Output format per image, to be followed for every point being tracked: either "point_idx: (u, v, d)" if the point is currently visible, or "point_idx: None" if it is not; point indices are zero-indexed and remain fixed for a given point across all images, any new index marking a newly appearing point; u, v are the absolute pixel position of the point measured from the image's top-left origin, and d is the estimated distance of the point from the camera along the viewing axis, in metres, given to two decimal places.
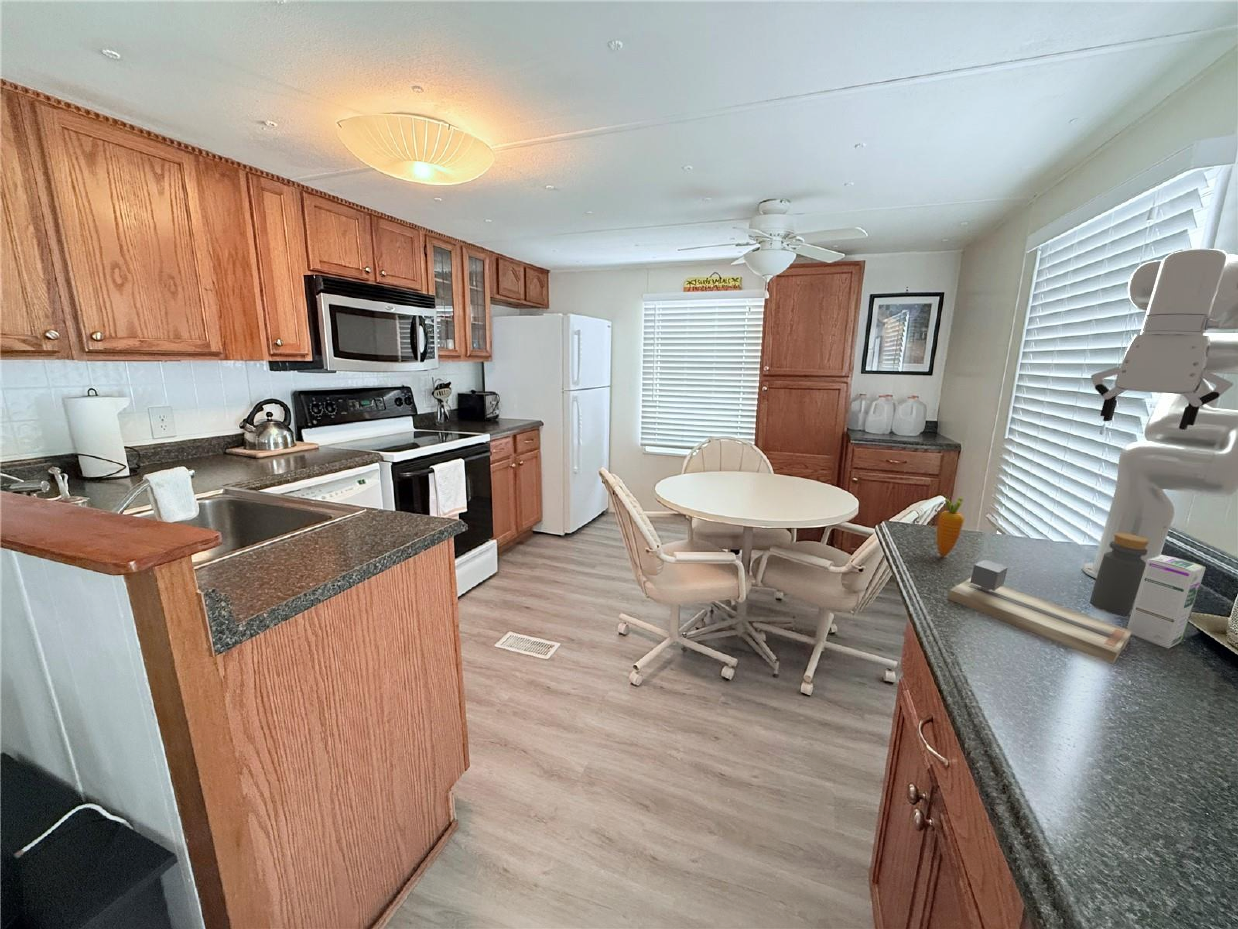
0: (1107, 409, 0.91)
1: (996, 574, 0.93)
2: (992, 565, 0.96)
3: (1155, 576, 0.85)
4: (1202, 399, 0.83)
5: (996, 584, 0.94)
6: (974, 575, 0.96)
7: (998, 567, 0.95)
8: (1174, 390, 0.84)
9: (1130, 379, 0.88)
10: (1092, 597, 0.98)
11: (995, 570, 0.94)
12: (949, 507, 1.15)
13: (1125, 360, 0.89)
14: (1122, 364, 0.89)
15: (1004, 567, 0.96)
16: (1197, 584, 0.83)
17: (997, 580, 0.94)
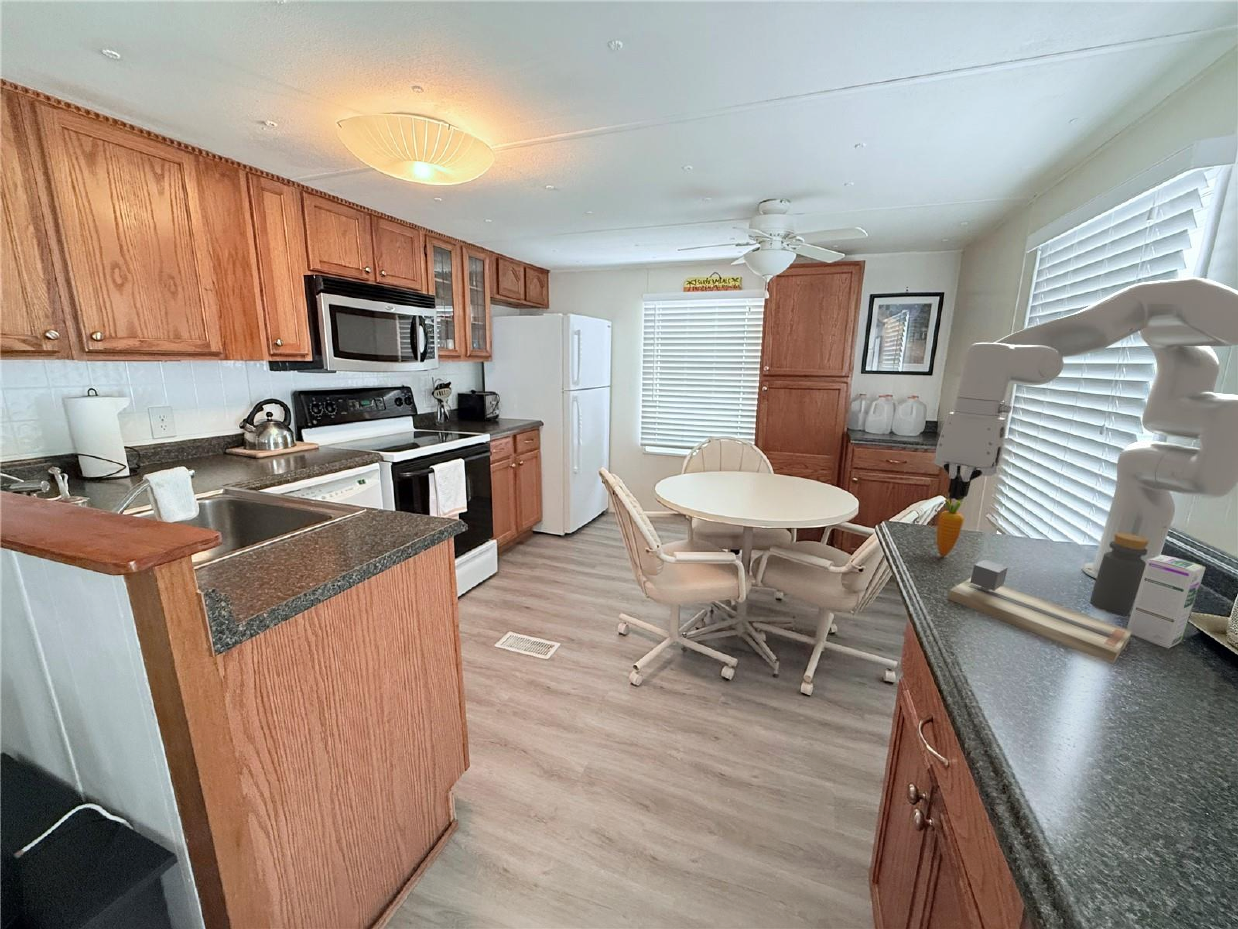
0: (952, 488, 0.99)
1: (996, 574, 0.93)
2: (992, 565, 0.96)
3: (1155, 575, 0.85)
4: (971, 478, 0.97)
5: (996, 584, 0.94)
6: (974, 575, 0.96)
7: (998, 567, 0.95)
8: (976, 465, 0.95)
9: (945, 452, 0.99)
10: (1092, 597, 0.98)
11: (995, 570, 0.94)
12: (949, 507, 1.15)
13: (942, 435, 0.99)
14: (939, 438, 0.99)
15: (1004, 567, 0.96)
16: (1197, 584, 0.83)
17: (997, 580, 0.94)
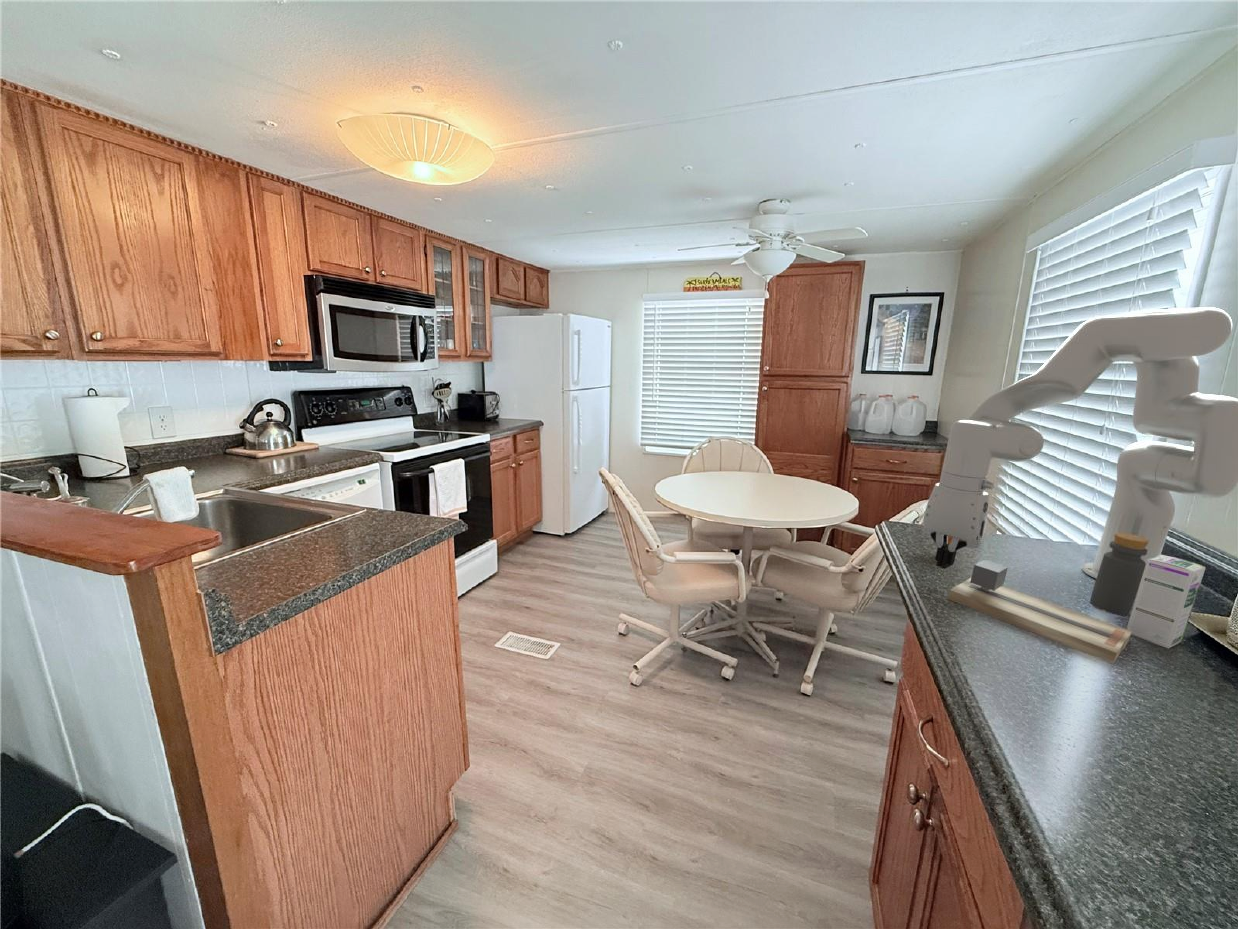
0: (939, 557, 1.02)
1: (996, 574, 0.93)
2: (992, 565, 0.96)
3: (1155, 575, 0.85)
4: (957, 549, 1.00)
5: (996, 584, 0.94)
6: (974, 575, 0.96)
7: (998, 567, 0.95)
8: (961, 538, 0.98)
9: (931, 522, 1.02)
10: (1092, 597, 0.98)
11: (995, 570, 0.94)
12: None
13: (928, 505, 1.02)
14: (926, 508, 1.03)
15: (1004, 567, 0.96)
16: (1197, 584, 0.83)
17: (997, 580, 0.94)
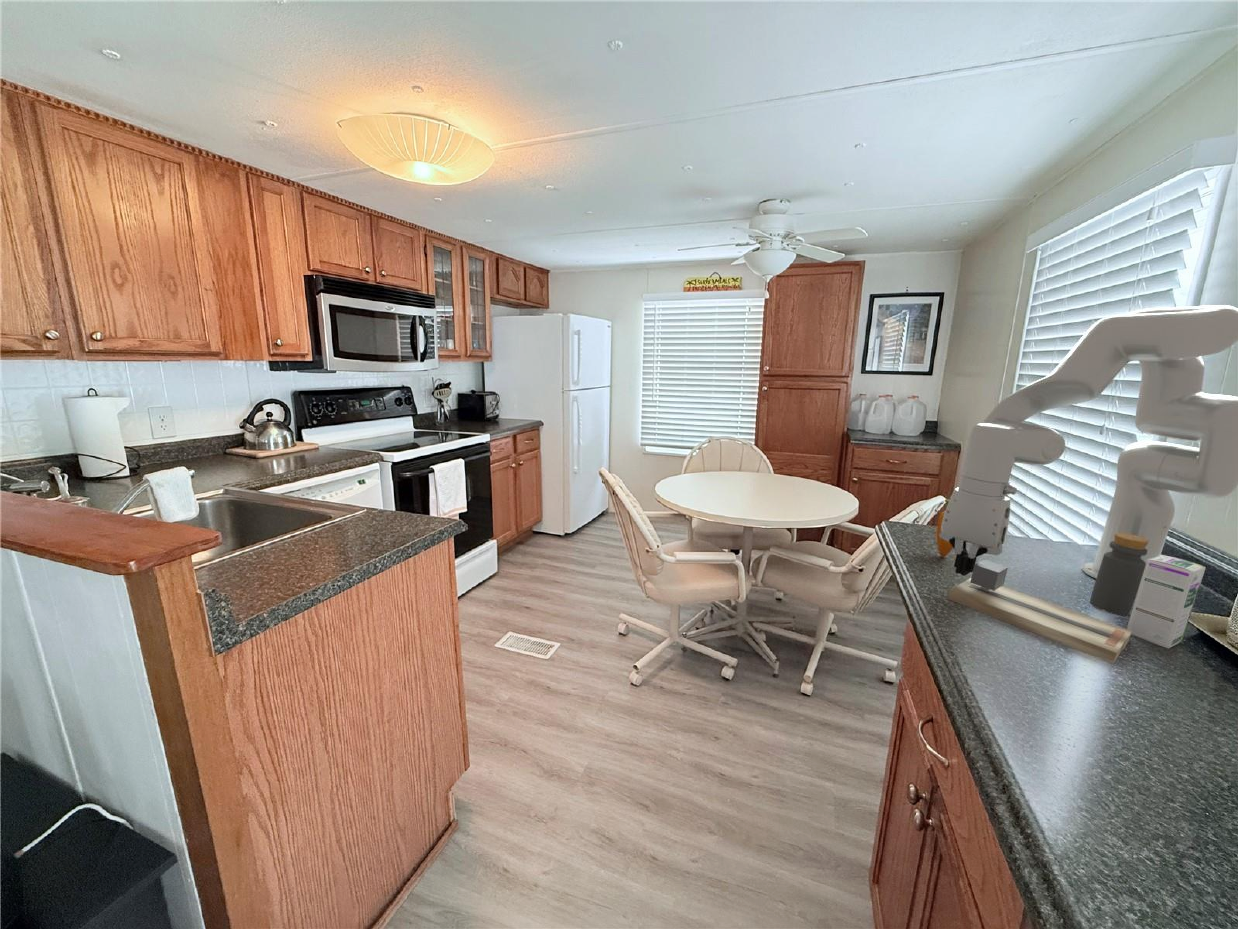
0: (958, 563, 0.99)
1: (996, 574, 0.93)
2: (992, 565, 0.96)
3: (1155, 576, 0.85)
4: (977, 556, 0.97)
5: (996, 584, 0.94)
6: (974, 575, 0.96)
7: (998, 567, 0.95)
8: (982, 544, 0.95)
9: (950, 528, 0.99)
10: (1092, 597, 0.98)
11: (995, 570, 0.94)
12: None
13: (947, 510, 1.00)
14: (945, 513, 1.00)
15: (1004, 567, 0.96)
16: (1197, 584, 0.83)
17: (997, 580, 0.94)
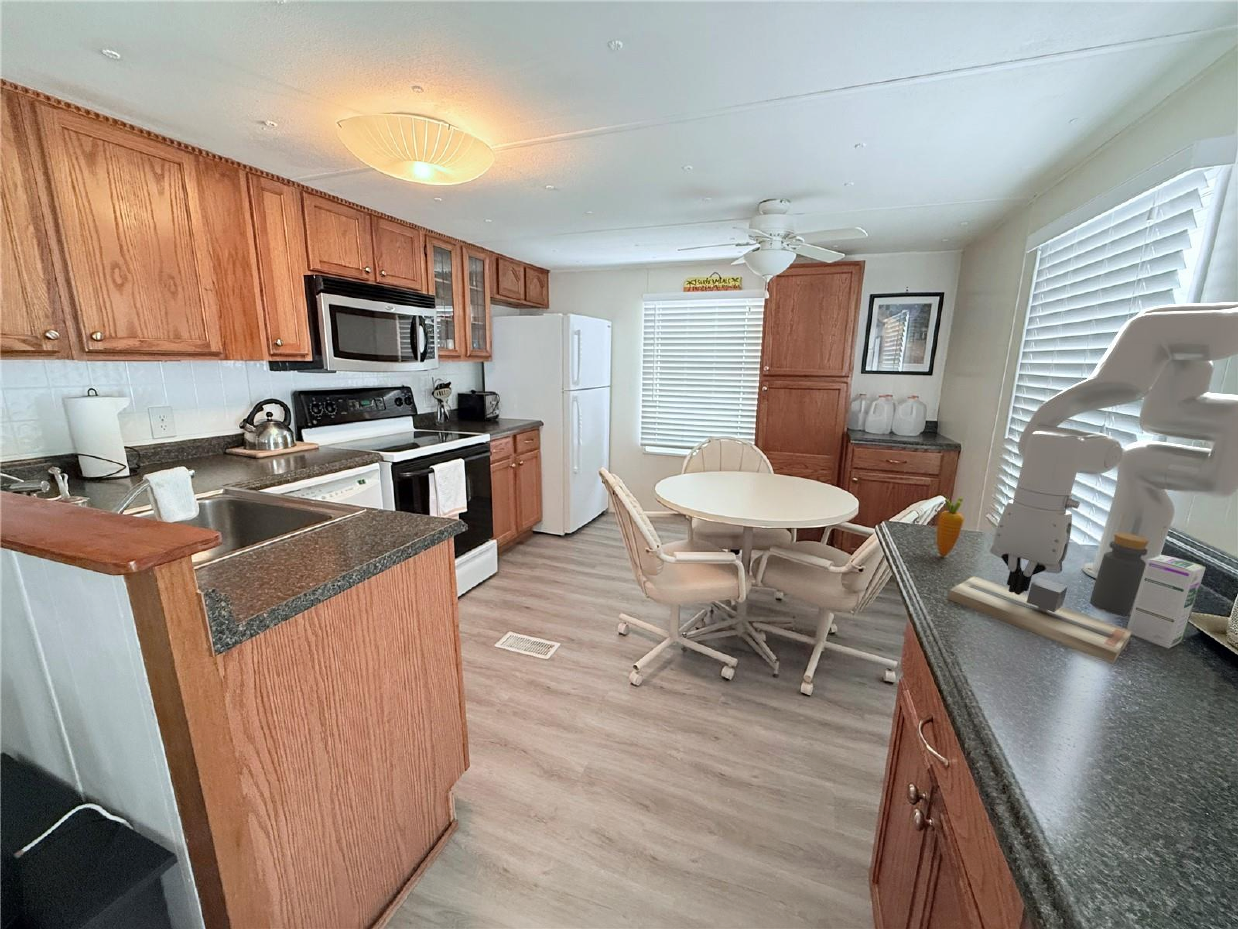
0: (1012, 581, 0.92)
1: (1056, 594, 0.86)
2: (1050, 584, 0.89)
3: (1155, 576, 0.85)
4: (1033, 574, 0.90)
5: (1056, 605, 0.87)
6: (1032, 595, 0.89)
7: (1058, 587, 0.88)
8: (1040, 562, 0.88)
9: (1004, 543, 0.92)
10: (1092, 597, 0.98)
11: (1055, 590, 0.87)
12: (949, 507, 1.15)
13: (1000, 524, 0.93)
14: (997, 527, 0.93)
15: (1064, 586, 0.89)
16: (1197, 584, 0.83)
17: (1058, 601, 0.87)
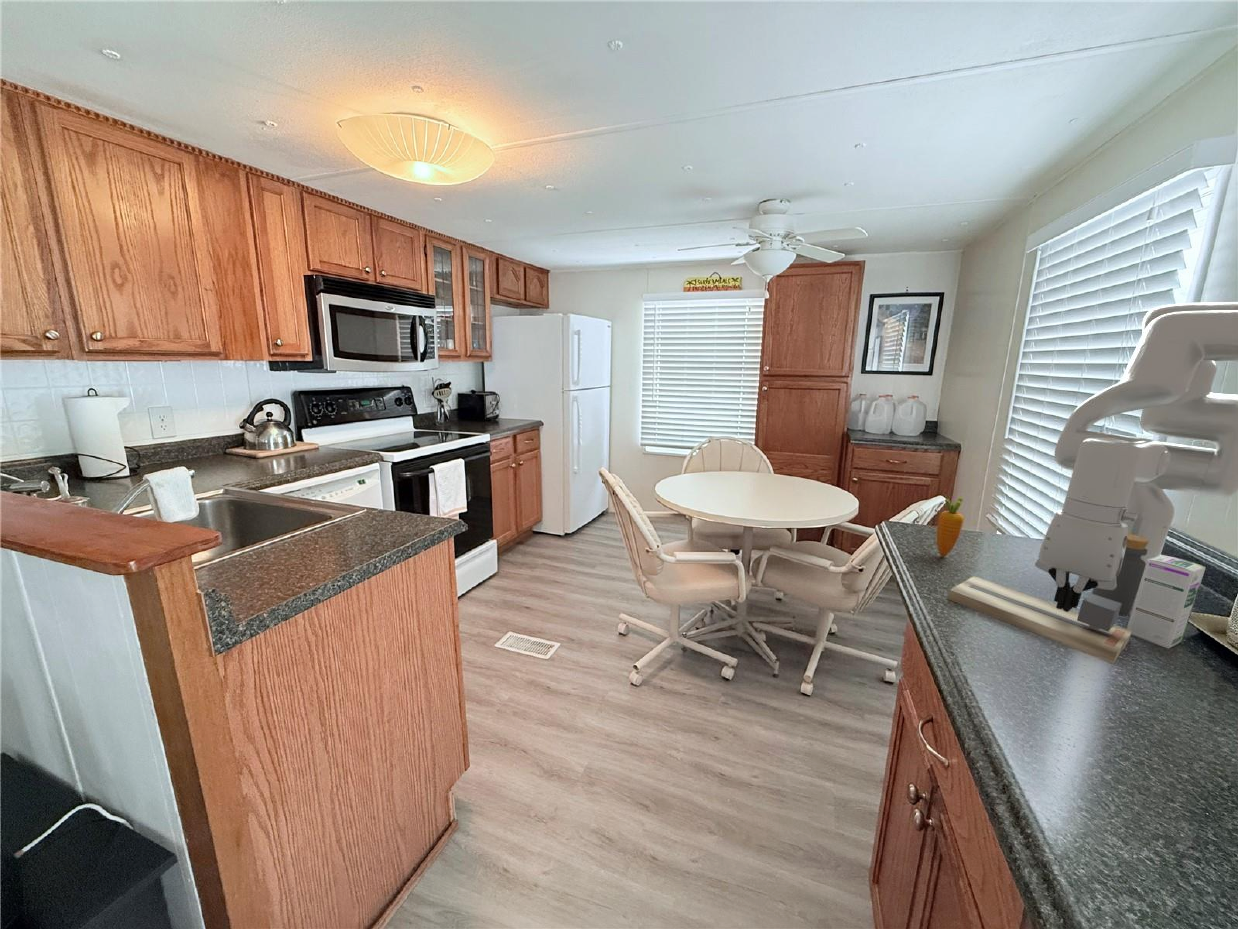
0: (1060, 598, 0.87)
1: (1111, 613, 0.81)
2: (1103, 601, 0.84)
3: (1155, 576, 0.85)
4: (1084, 590, 0.85)
5: (1111, 624, 0.81)
6: (1083, 613, 0.84)
7: (1111, 604, 0.83)
8: (1093, 577, 0.83)
9: (1052, 557, 0.87)
10: None
11: (1110, 608, 0.81)
12: (949, 507, 1.15)
13: (1047, 537, 0.87)
14: (1044, 540, 0.87)
15: (1118, 604, 0.83)
16: (1197, 584, 0.83)
17: (1112, 619, 0.81)
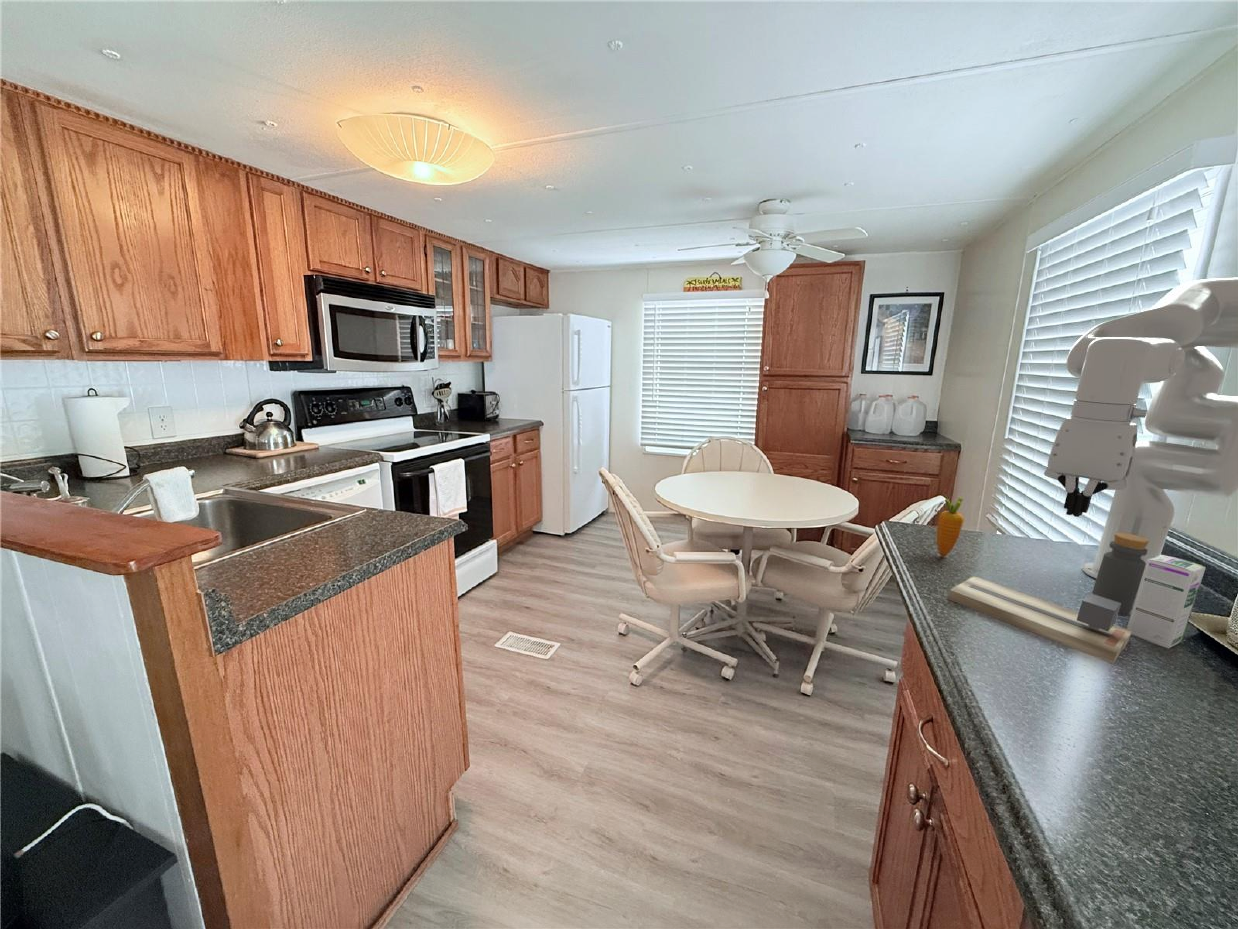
0: (1070, 503, 0.87)
1: (1111, 612, 0.81)
2: (1103, 601, 0.84)
3: (1155, 576, 0.85)
4: (1094, 493, 0.85)
5: (1110, 624, 0.81)
6: (1082, 612, 0.84)
7: (1111, 604, 0.83)
8: (1103, 478, 0.83)
9: (1061, 463, 0.87)
10: None
11: (1109, 608, 0.81)
12: (949, 507, 1.15)
13: (1056, 443, 0.87)
14: (1053, 447, 0.87)
15: (1117, 603, 0.83)
16: (1197, 584, 0.83)
17: (1112, 619, 0.81)
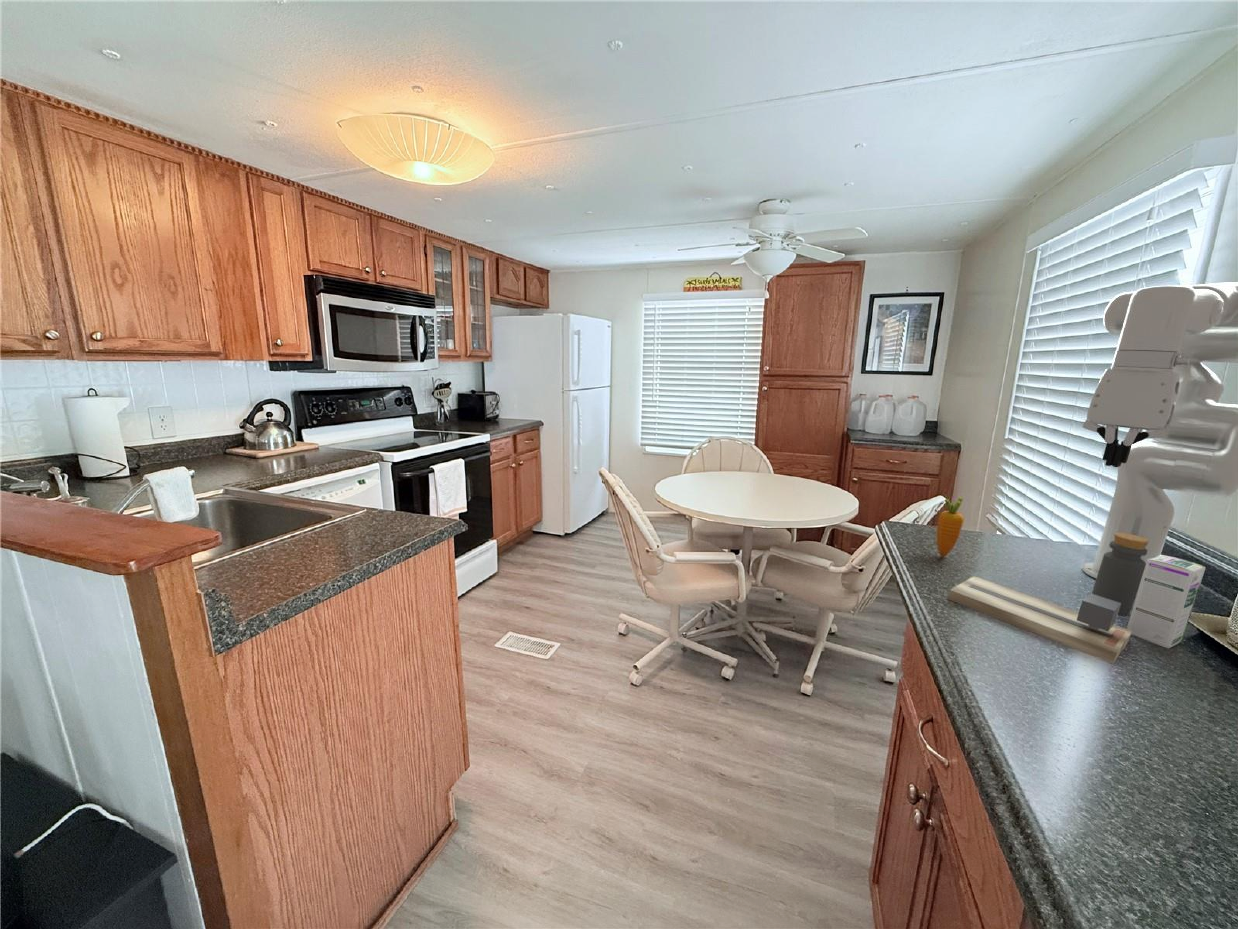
0: (1109, 454, 0.88)
1: (1111, 612, 0.81)
2: (1103, 601, 0.84)
3: (1155, 575, 0.85)
4: (1135, 442, 0.86)
5: (1110, 624, 0.81)
6: (1082, 612, 0.84)
7: (1111, 604, 0.83)
8: (1144, 427, 0.84)
9: (1101, 413, 0.88)
10: None
11: (1109, 608, 0.81)
12: (949, 507, 1.15)
13: (1096, 394, 0.88)
14: (1093, 398, 0.89)
15: (1117, 603, 0.83)
16: (1197, 584, 0.83)
17: (1112, 619, 0.81)
